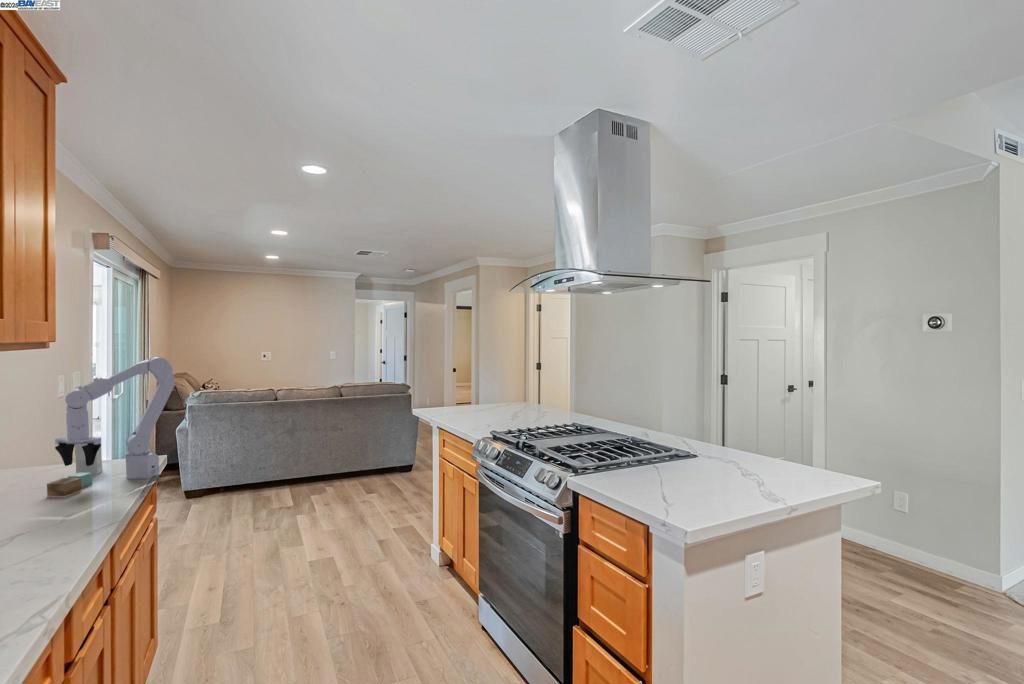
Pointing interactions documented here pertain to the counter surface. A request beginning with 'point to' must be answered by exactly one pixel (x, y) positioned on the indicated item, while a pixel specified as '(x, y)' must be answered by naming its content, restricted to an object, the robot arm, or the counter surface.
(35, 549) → the counter surface
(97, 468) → the small box
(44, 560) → the counter surface
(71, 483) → the walnut block
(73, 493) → the mat
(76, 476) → the teal block
